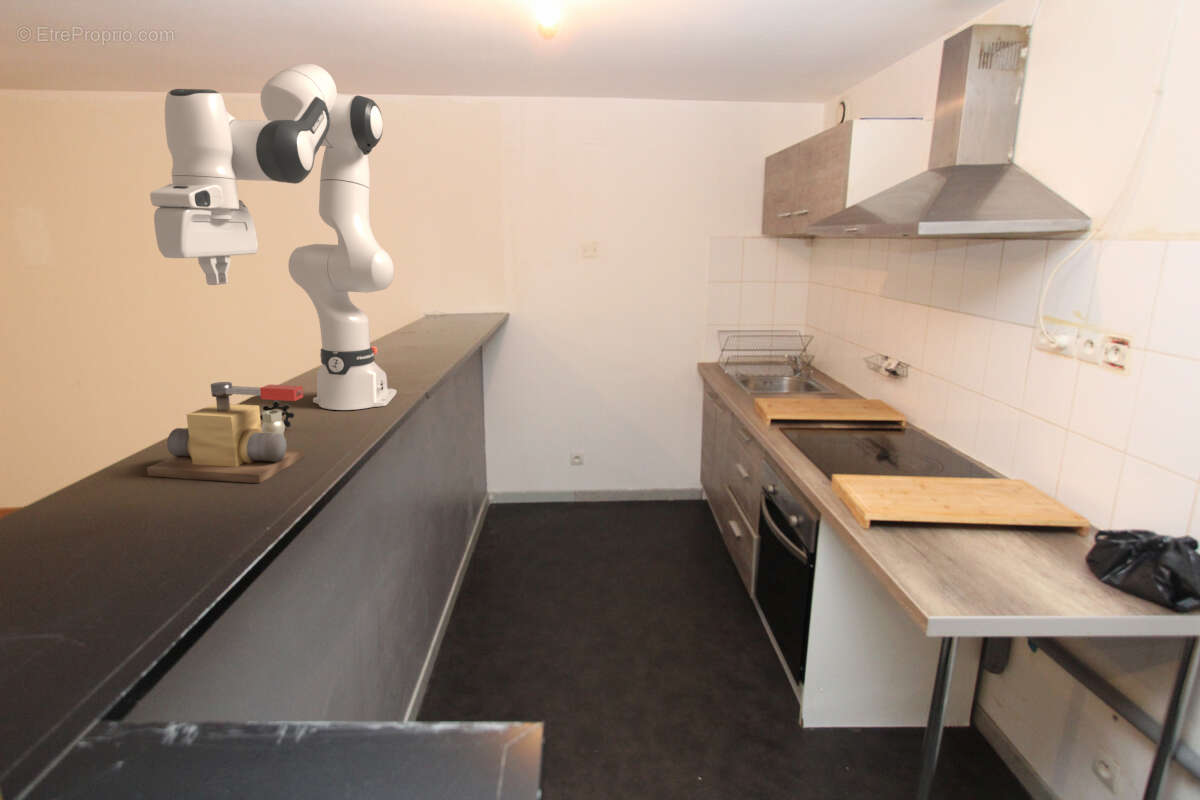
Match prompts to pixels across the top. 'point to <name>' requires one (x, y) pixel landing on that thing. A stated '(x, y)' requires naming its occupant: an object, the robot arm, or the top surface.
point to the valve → (275, 418)
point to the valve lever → (258, 391)
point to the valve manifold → (225, 446)
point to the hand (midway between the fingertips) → (217, 284)
